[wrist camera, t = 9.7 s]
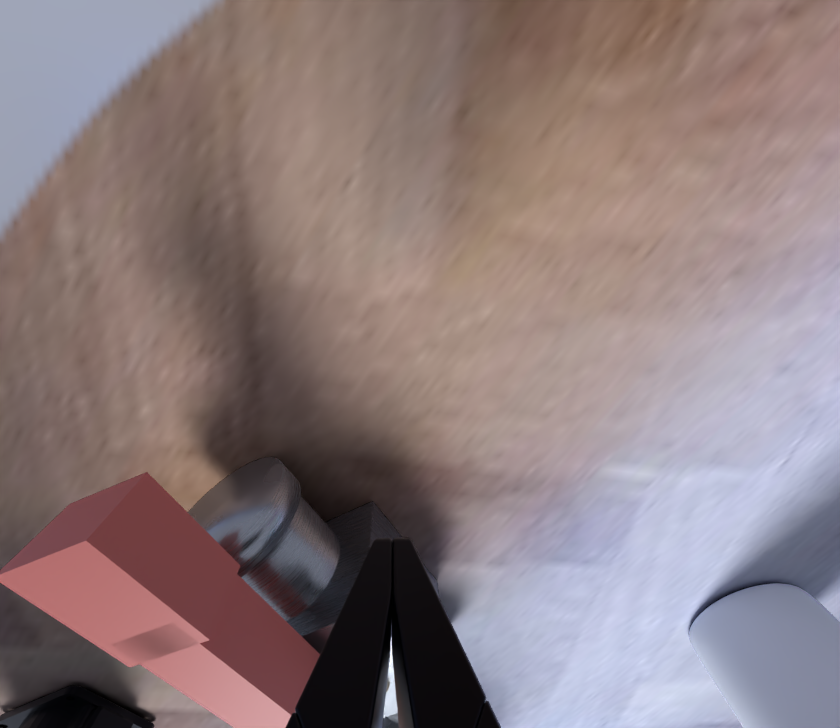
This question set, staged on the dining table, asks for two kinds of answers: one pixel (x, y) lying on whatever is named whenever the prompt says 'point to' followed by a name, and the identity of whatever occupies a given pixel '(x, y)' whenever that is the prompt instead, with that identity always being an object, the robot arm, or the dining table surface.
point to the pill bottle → (772, 656)
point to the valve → (294, 550)
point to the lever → (165, 602)
